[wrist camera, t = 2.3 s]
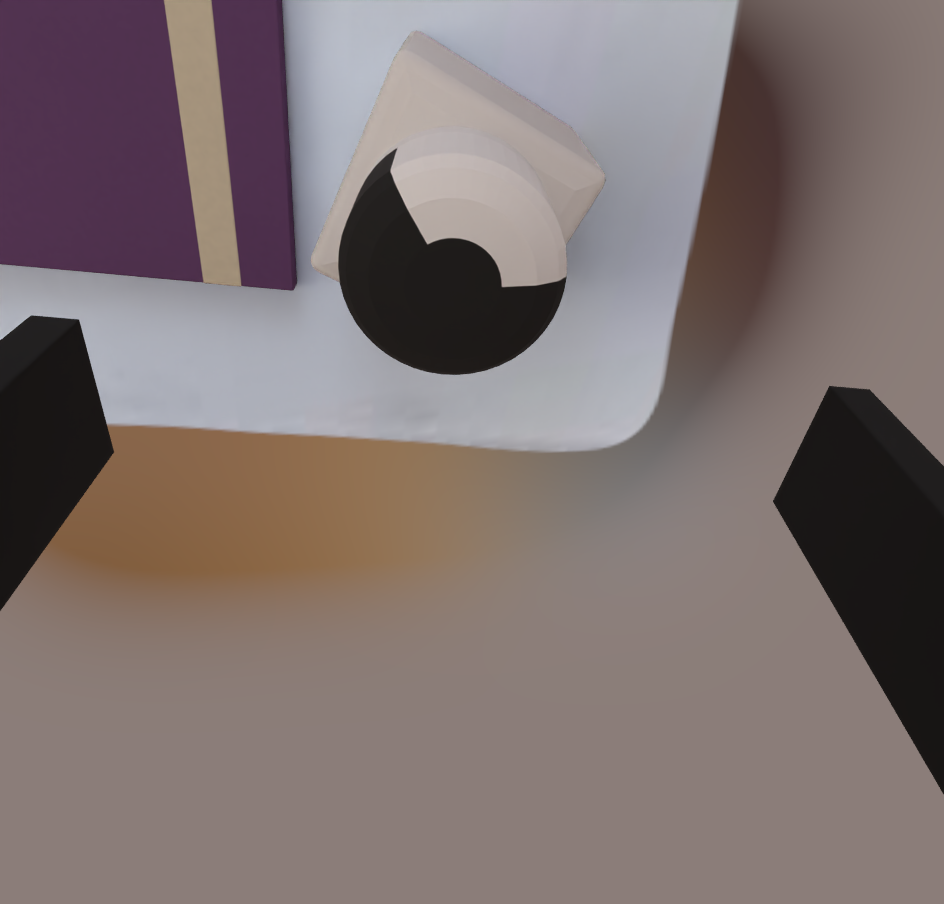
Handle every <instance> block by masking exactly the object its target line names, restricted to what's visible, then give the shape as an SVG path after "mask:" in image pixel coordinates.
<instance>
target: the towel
mask: <svg viewBox="0 0 944 904" xmlns="http://www.w3.org/2000/svg"><path fill="white" fill-rule="evenodd" d="M0 264H5V265H16V266H27V267H39V268H50V269H61V270H72V271H83V272H94V273H105V274H116V275H127V276H138V277H149V278H160V279H171V280H182V281H193V282H204V283H209V284H220V285H231V286H248V287H259V288H270V289H281V290H294V288H295V286H296V284H297V277H296V258H295V239H294V221H293V202H292V183H291V164H290V145H289V127H288V108H287V89H286V70H285V51H284V33H283V14H282V0H0Z"/></svg>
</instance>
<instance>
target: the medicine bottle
mask: <svg viewBox="0 0 944 904" xmlns="http://www.w3.org/2000/svg"><path fill="white" fill-rule="evenodd" d="M605 180H606V179H605V173H604V172H603V171H602V169H601V168H600V166H599V165H598V163H597V162H596V161H595V159H594V158H593V156H592V155H591V153H590V152H589V151H588V149H587V148H586V146H585V145H584V143H583V142H582V141H581V139H580V138H579V136H578V135H577V133H576V132H575V131H574V130H573V128H572V127H570V126H569V125H567V124H566V123H564V122H563V121H561V120H559V119H558V118H556V117H555V116H553V115H552V114H550V113H548V112H547V111H545V110H544V109H542V108H541V107H539V106H537V105H536V104H534V103H533V102H531V101H529V100H528V99H526V98H525V97H523V96H522V95H520V94H518V93H517V92H515V91H514V90H512V89H511V88H509V87H507V86H506V85H504V84H503V83H501V82H500V81H498V80H496V79H495V78H493V77H492V76H490V75H489V74H487V73H485V72H484V71H482V70H481V69H479V68H478V67H476V66H474V65H473V64H471V63H470V62H468V61H466V60H465V59H463V58H462V57H460V56H459V55H457V54H455V53H454V52H452V51H451V50H449V49H448V48H446V47H444V46H443V45H441V44H440V43H438V42H437V41H435V40H433V39H432V38H430V37H429V36H427V35H426V34H424V33H422V32H420V31H414V32H411V33H410V35H409V36H408V37H407V39H406V40H405V42H404V43H403V45H402V46H401V48H400V50H399V51H398V53H397V54H396V56H395V57H394V59H393V62H392V64H391V66H390V69H389V71H388V74H387V76H386V78H385V81H384V83H383V86H382V88H381V90H380V93H379V95H378V98H377V100H376V102H375V105H374V107H373V110H372V112H371V114H370V117H369V119H368V122H367V124H366V126H365V129H364V131H363V134H362V136H361V138H360V141H359V143H358V146H357V148H356V150H355V153H354V155H353V158H352V160H351V162H350V165H349V167H348V170H347V172H346V174H345V177H344V179H343V182H342V184H341V186H340V189H339V191H338V194H337V196H336V198H335V201H334V203H333V206H332V208H331V210H330V213H329V215H328V218H327V220H326V222H325V225H324V227H323V229H322V232H321V234H320V237H319V239H318V241H317V244H316V246H315V249H314V251H313V253H312V256H311V264H312V266H313V268H314V269H315V270H316V271H318V272H320V273H322V274H324V275H326V276H328V277H330V278H332V279H334V280H336V281H338V282H340V285H341V289H342V293H343V297H344V299H345V302H346V304H347V307H348V309H349V311H350V313H351V315H352V316H353V318H354V320H355V322H356V323H357V325H358V326H359V327H360V329H361V330H362V331H363V333H364V334H365V335H366V336H367V337H368V338H369V339H370V340H371V341H372V342H373V343H374V344H375V345H376V346H377V347H378V348H380V349H381V350H382V351H384V352H385V353H386V354H387V355H389V356H391V357H392V358H394V359H396V360H398V361H399V362H401V363H404V364H406V365H408V366H411V367H413V368H416V369H419V370H423V371H426V372H431V373H437V374H449V375H460V374H471V373H476V372H481V371H485V370H488V369H491V368H494V367H497V366H499V365H502V364H504V363H506V362H508V361H510V360H512V359H513V358H515V357H516V356H518V355H519V354H521V353H522V352H524V351H525V350H526V349H527V348H528V347H530V346H531V345H532V344H533V343H534V342H535V341H536V340H537V339H538V338H539V337H540V336H541V334H542V333H543V332H544V331H545V330H546V328H547V327H548V325H549V324H550V322H551V321H552V319H553V317H554V315H555V313H556V311H557V309H558V307H559V305H560V302H561V299H562V295H563V292H564V288H565V282H566V277H567V256H566V247H565V246H566V244H567V243H568V241H569V240H570V238H571V236H572V235H573V233H574V232H575V230H576V229H577V227H578V226H579V224H580V222H581V221H582V219H583V218H584V216H585V215H586V213H587V211H588V210H589V208H590V207H591V205H592V204H593V202H594V201H595V199H596V197H597V196H598V194H599V193H600V191H601V190H602V188H603V186H604V183H605Z"/></svg>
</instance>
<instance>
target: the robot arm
mask: <svg viewBox="0 0 944 904" xmlns="http://www.w3.org/2000/svg"><path fill="white" fill-rule="evenodd" d="M113 453H114V450H113V447H112V443H111V439H110V435H109V432H108V428H107V424H106V420H105V416H104V412H103V409H102V405H101V401H100V397H99V393H98V390H97V386H96V382H95V378H94V375H93V371H92V367H91V363H90V359H89V356H88V352H87V348H86V344H85V341H84V337H83V333H82V329H81V325H80V322H79V320H77V319H66V318H54V317H43V316H32V315H31V316H30V317H29V318H27V319H26V320H25V321H24V322H22V323H21V324H20V325H19V326H18V327H16V328H15V329H14V330H13V331H11V332H10V333H9V334H8V335H6V336H5V337H4V338H3V339H1V340H0V610H1V609H2V608H3V606H4V605H5V603H6V602H7V601H8V599H9V598H10V597H11V595H12V594H13V592H14V591H15V589H16V588H17V587H18V585H19V584H20V583H21V581H22V580H23V578H24V577H25V576H26V574H27V573H28V571H29V570H30V569H31V567H32V566H33V565H34V563H35V562H36V560H37V559H38V558H39V556H40V555H41V553H42V552H43V550H44V549H45V548H46V546H47V545H48V544H49V542H50V541H51V539H52V538H53V537H54V535H55V534H56V532H57V531H58V530H59V528H60V527H61V525H62V524H63V523H64V521H65V520H66V518H67V517H68V516H69V514H70V513H71V512H72V510H73V509H74V507H75V506H76V505H77V503H78V502H79V500H80V499H81V498H82V496H83V495H84V493H85V492H86V491H87V489H88V488H89V486H90V485H91V484H92V482H93V481H94V479H95V478H96V477H97V475H98V474H99V472H100V471H101V469H102V468H103V467H104V465H105V464H106V463H107V461H108V460H109V458H110V457H111V456H112V454H113ZM773 502H774V504H775V506H776V507H777V509H778V511H779V512H780V514H781V516H782V518H783V519H784V521H785V523H786V525H787V526H788V528H789V530H790V531H791V533H792V535H793V537H794V538H795V540H796V541H797V543H798V545H799V547H800V549H801V550H802V552H803V554H804V556H805V557H806V559H807V561H808V562H809V564H810V566H811V568H812V569H813V571H814V573H815V574H816V576H817V578H818V580H819V581H820V583H821V585H822V586H823V588H824V590H825V592H826V593H827V595H828V597H829V598H830V600H831V602H832V604H833V605H834V607H835V609H836V610H837V612H838V614H839V616H840V617H841V619H842V621H843V622H844V624H845V626H846V628H847V629H848V631H849V633H850V634H851V636H852V638H853V640H854V641H855V643H856V645H857V646H858V648H859V650H860V652H861V653H862V655H863V657H864V658H865V660H866V662H867V664H868V665H869V667H870V669H871V670H872V672H873V674H874V675H875V677H876V679H877V681H878V682H879V684H880V686H881V688H882V689H883V691H884V693H885V694H886V696H887V698H888V700H889V701H890V703H891V705H892V707H893V708H894V710H895V712H896V713H897V715H898V717H899V719H900V720H901V722H902V724H903V725H904V727H905V729H906V731H907V732H908V734H909V736H910V737H911V739H912V741H913V743H914V744H915V746H916V748H917V749H918V751H919V753H920V754H921V756H922V758H923V760H924V761H925V763H926V765H927V767H928V768H929V770H930V772H931V773H932V775H933V777H934V779H935V780H936V782H937V784H938V785H939V787H940V789H941V791H942V792H943V794H944V466H943V465H942V464H941V463H940V462H939V461H938V460H937V459H936V458H935V457H934V456H933V455H932V454H931V453H930V452H929V451H928V450H927V449H926V448H925V446H924V445H922V443H921V442H920V441H919V440H918V439H917V438H916V437H915V436H914V435H913V434H912V433H911V432H910V431H909V430H908V429H907V428H906V427H905V426H904V425H903V424H902V423H901V422H900V421H899V420H898V419H897V417H895V416H894V414H893V413H892V412H891V411H890V410H888V408H887V407H886V406H885V405H884V404H883V403H882V402H881V401H880V400H879V399H878V398H877V397H876V396H875V395H874V394H873V393H872V392H871V391H870V390H867V389H857V388H846V387H834V386H829V388H828V390H827V392H826V394H825V396H824V398H823V401H822V402H821V404H820V406H819V409H818V411H817V413H816V415H815V417H814V419H813V421H812V423H811V425H810V427H809V429H808V431H807V433H806V435H805V437H804V439H803V441H802V443H801V445H800V447H799V449H798V451H797V454H796V456H795V457H794V459H793V461H792V464H791V466H790V468H789V470H788V472H787V474H786V476H785V478H784V480H783V482H782V484H781V486H780V488H779V490H778V492H777V494H776V496H775V498H774V500H773Z"/></svg>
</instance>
